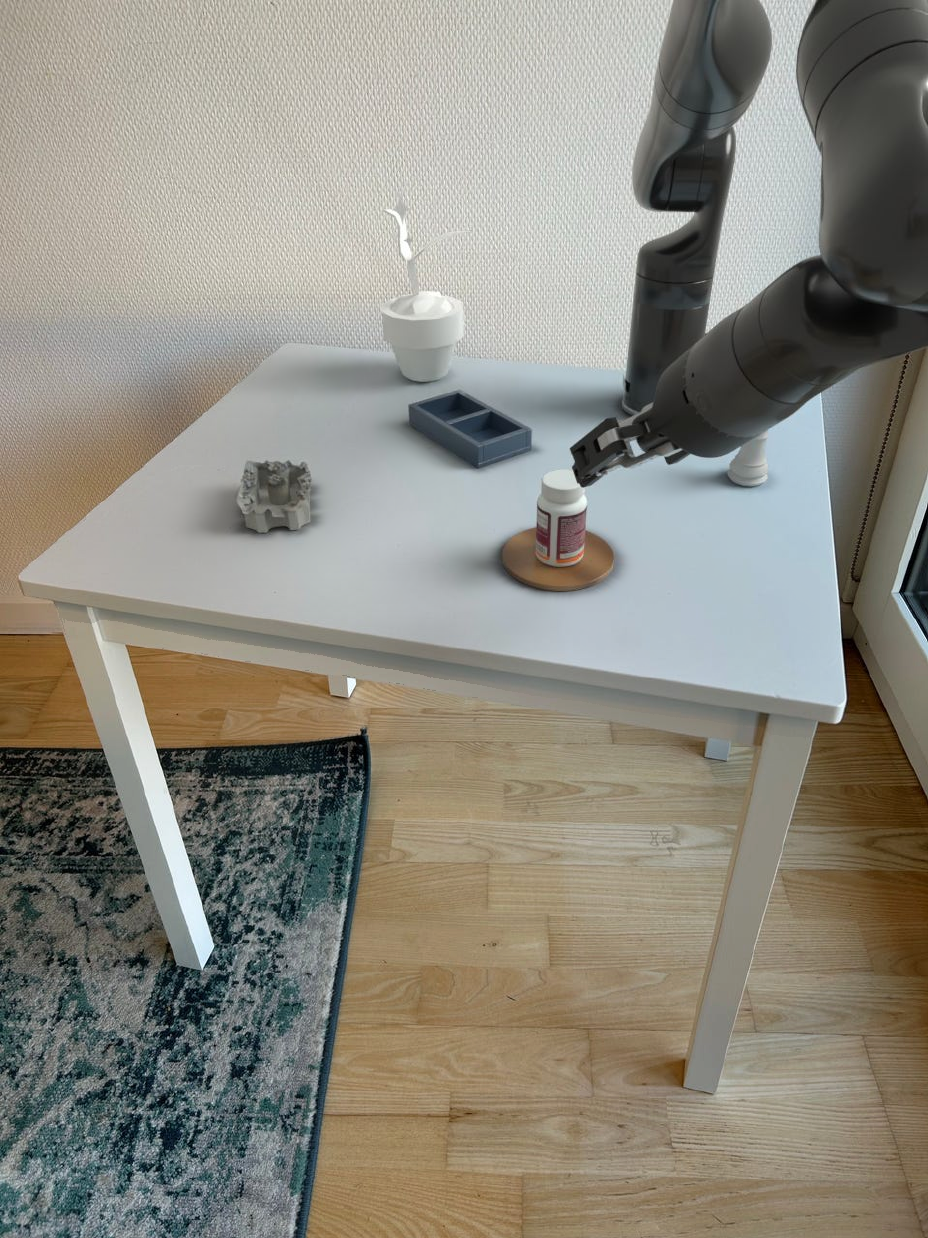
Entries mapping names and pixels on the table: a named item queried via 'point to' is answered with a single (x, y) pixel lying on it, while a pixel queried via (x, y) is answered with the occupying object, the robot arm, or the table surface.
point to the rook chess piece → (750, 463)
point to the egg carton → (275, 495)
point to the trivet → (543, 576)
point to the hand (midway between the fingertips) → (624, 464)
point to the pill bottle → (560, 519)
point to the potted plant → (421, 316)
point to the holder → (470, 428)
